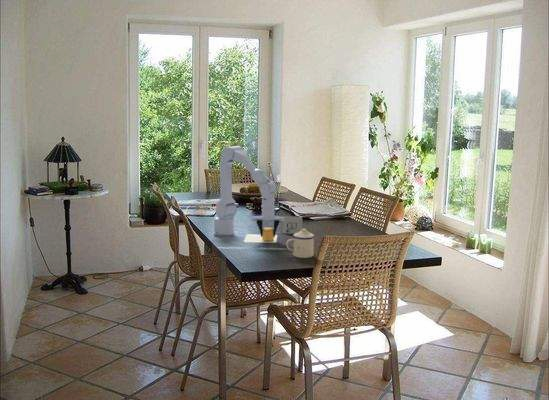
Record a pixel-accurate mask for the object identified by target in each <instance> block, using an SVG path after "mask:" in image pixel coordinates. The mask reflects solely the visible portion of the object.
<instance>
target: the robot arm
mask: <svg viewBox="0 0 549 400" xmlns="http://www.w3.org/2000/svg"><path fill="white" fill-rule="evenodd" d="M220 154H221V156H220V159H219V177H220V178H219V187H220V188H219V189H220V191H219V192H220V198H219V200H218V201H216V208H215V215H216V216H217V217H214V223H213V224H214V225H213V226H214V229H213V233H214V235H217V236H218V235H219V236H232V235H234V234H235V219H234V218H235V216H236V214H237V213H238V208H237V205H236V200H235V199H234V198H233V187H232V186H233V184H232V181H233V180H232V178H233V177H232V166H233V165H234V163H235V162H239V163H241V164H242V166H244V168H245V169H247V171H248V172H249V173H250V174H251V175H250V177H251V179H252V180H253V181H254V182H255V183H256V185H257V186H258V188H259V193H260V195H261V215H254V216H253V215H252V217H251V218H252V219H251V220H252V222H256V225H257V226H258V229H259V232H260V235H261V237H262V230H263V222H273V228H274V234H273V236H274V237H275V235H276V232H277V230H278V227H279V225H280V222H282V223H283V222H284V216H278V215H277V216H275V199H276V198H275V193H276V192H277V190H278V186H277V183H276V182H275V181H274V180H271V179H270V178H269V177H268V176H267V175H266V174H265V171H264V170H263V169H260V168H257V166H255V164H254V163H253V161H252V160H251V158H250V157H249V156H248V154H247V151H246V150H245V149H244V148H243V146H241V145H236V146H234V145H233V146H225V147H224V148H223V149H222V150H221V153H220Z"/></svg>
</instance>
